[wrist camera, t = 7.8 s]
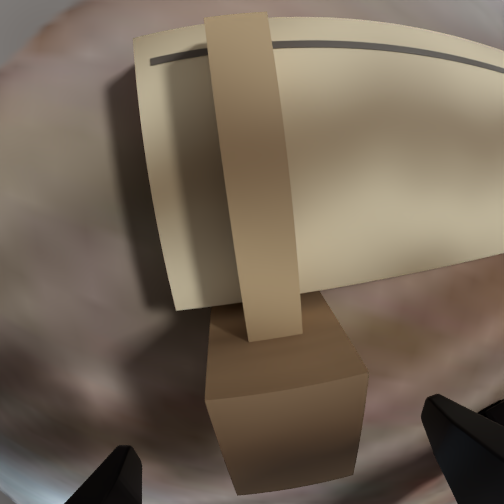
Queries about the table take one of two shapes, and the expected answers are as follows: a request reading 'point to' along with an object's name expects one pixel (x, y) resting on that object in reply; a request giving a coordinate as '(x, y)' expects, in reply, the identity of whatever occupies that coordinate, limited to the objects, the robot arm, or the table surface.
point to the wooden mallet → (271, 296)
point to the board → (333, 153)
